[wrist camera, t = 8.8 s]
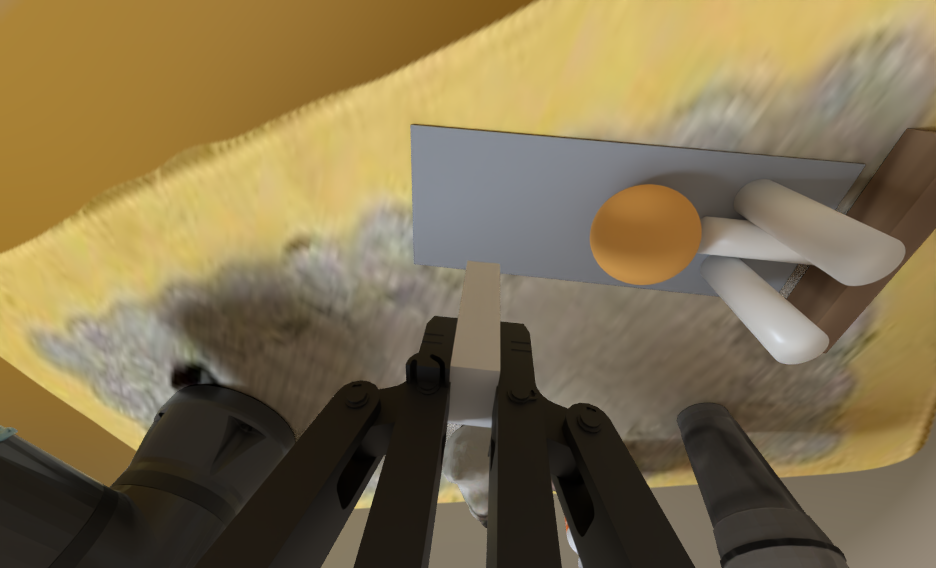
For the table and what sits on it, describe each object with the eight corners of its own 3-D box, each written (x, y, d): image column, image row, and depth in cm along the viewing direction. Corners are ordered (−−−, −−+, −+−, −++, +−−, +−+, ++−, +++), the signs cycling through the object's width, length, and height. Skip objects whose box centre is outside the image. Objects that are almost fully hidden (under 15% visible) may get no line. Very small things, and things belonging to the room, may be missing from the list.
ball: (701, 293, 21) (629, 251, 26) (746, 198, 18) (655, 169, 23) (626, 313, 19) (562, 263, 24) (662, 210, 16) (581, 175, 21)
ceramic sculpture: (507, 487, 27) (575, 552, 35) (506, 394, 34) (563, 464, 42) (402, 506, 31) (482, 561, 38) (420, 419, 38) (485, 479, 45)
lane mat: (414, 262, 27) (414, 263, 27) (411, 124, 22) (410, 125, 22) (770, 300, 26) (772, 302, 26) (863, 163, 20) (866, 164, 20)
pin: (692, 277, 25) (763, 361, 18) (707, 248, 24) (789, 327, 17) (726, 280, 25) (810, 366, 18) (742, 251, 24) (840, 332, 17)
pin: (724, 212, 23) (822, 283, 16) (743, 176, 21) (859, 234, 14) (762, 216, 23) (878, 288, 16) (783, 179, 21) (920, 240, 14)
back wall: (769, 322, 27) (796, 350, 24) (907, 128, 19) (966, 139, 17) (796, 325, 27) (826, 353, 24) (945, 131, 19) (1010, 142, 17)
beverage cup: (753, 428, 34) (994, 792, 17) (675, 447, 36) (816, 777, 20) (734, 383, 31) (1001, 769, 14) (650, 408, 33) (790, 754, 17)
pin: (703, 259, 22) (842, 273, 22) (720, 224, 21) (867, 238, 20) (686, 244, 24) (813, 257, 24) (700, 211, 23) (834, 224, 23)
